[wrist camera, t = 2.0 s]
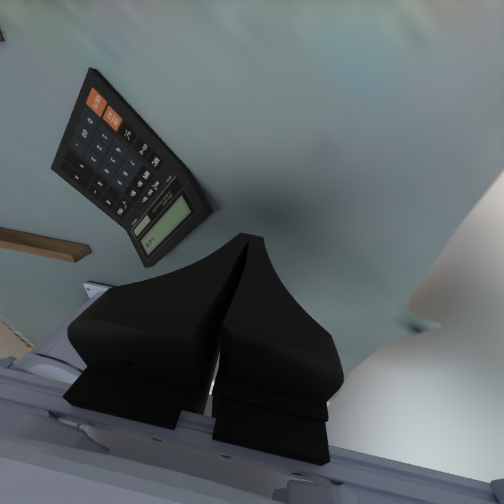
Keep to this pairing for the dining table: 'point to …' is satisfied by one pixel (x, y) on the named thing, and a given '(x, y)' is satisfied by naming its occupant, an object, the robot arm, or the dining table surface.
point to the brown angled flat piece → (42, 243)
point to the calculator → (128, 171)
